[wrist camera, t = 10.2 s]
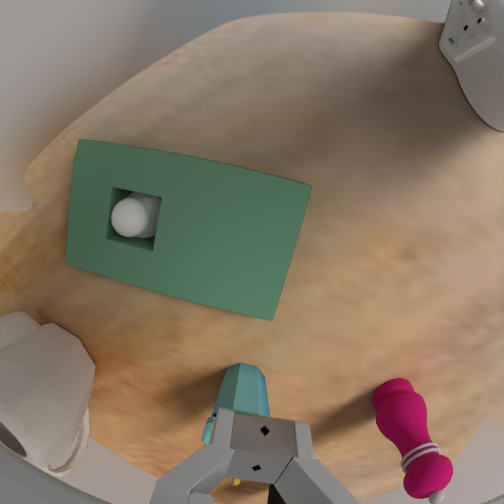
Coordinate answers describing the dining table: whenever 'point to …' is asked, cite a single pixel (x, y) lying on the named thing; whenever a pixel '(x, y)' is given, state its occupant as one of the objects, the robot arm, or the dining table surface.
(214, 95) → the dining table surface
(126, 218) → the ball
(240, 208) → the putting mat
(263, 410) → the cup
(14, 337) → the watering can
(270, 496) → the drinking cup
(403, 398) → the pepper mill
